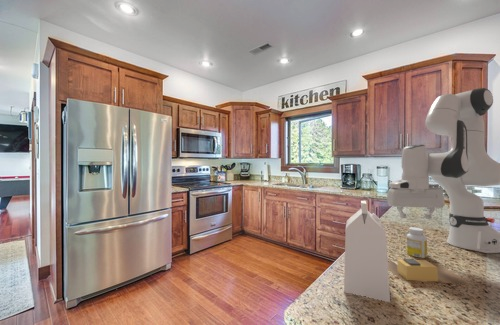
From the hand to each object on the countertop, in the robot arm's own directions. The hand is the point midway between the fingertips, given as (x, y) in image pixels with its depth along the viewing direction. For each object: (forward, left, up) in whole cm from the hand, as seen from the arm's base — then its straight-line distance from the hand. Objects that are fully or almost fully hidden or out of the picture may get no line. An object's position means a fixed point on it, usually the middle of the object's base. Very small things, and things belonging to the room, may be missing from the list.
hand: (415, 218), depth 88 cm
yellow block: (+12, +19, -15) cm, 27 cm away
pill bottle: (0, 0, -16) cm, 16 cm away
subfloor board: (+8, +15, -16) cm, 23 cm away
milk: (+30, +24, -16) cm, 41 cm away
